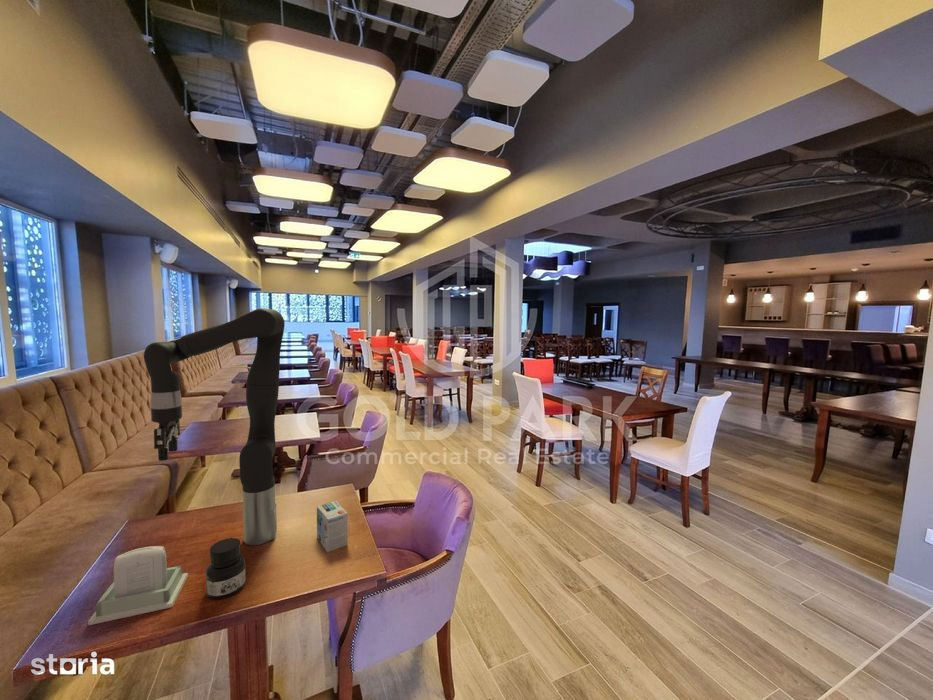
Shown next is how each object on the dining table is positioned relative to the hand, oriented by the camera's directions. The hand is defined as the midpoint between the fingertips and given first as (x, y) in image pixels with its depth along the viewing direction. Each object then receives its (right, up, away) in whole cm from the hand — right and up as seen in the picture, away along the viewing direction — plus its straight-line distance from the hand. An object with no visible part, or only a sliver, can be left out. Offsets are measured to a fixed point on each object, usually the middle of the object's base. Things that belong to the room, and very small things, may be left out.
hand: (168, 455), depth 118 cm
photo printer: (+12, -29, -23) cm, 39 cm away
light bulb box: (+51, -29, +4) cm, 59 cm away
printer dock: (+12, -30, -23) cm, 40 cm away
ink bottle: (+30, -31, -18) cm, 47 cm away
